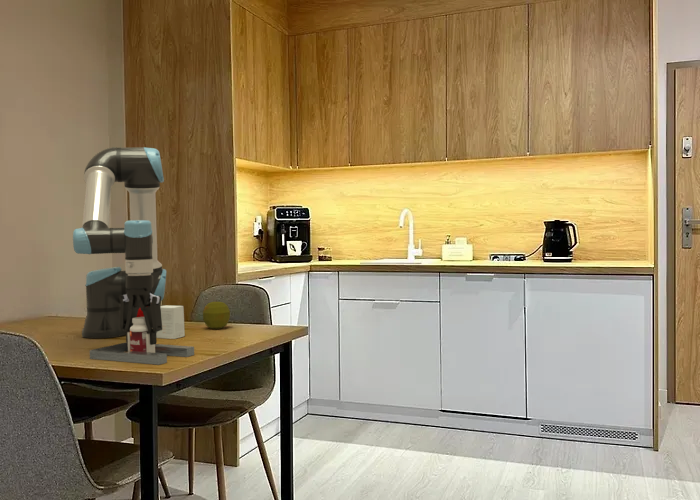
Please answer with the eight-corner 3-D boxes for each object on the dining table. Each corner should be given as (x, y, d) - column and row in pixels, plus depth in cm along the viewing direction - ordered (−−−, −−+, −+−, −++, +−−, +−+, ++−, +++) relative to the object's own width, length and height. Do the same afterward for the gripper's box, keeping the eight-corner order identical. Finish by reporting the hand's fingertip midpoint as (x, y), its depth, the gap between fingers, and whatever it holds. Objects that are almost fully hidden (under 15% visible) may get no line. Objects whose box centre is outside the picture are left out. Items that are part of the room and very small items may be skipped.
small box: (185, 336, 232) (184, 305, 232) (174, 339, 227) (173, 307, 226) (166, 335, 235) (165, 304, 235) (155, 338, 230) (154, 306, 230)
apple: (234, 328, 248) (234, 298, 248) (209, 331, 243) (208, 300, 242) (223, 325, 256) (222, 296, 256) (198, 328, 251) (198, 298, 251)
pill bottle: (126, 356, 196) (124, 318, 195) (145, 353, 201) (143, 315, 200) (138, 359, 192) (137, 319, 191) (157, 355, 197) (156, 317, 196)
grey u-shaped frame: (89, 358, 195) (89, 350, 195) (127, 349, 208) (127, 341, 208) (158, 364, 184) (158, 355, 184) (194, 354, 198) (194, 346, 198)
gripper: (104, 274, 196) (106, 355, 197) (156, 275, 188) (158, 359, 189) (123, 273, 203) (125, 350, 204) (174, 273, 195) (176, 355, 195)
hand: (141, 354), depth 196 cm, fingers closed on pill bottle, 6 cm apart
